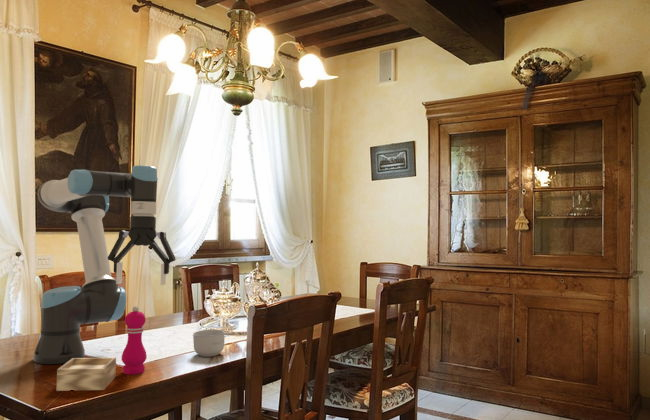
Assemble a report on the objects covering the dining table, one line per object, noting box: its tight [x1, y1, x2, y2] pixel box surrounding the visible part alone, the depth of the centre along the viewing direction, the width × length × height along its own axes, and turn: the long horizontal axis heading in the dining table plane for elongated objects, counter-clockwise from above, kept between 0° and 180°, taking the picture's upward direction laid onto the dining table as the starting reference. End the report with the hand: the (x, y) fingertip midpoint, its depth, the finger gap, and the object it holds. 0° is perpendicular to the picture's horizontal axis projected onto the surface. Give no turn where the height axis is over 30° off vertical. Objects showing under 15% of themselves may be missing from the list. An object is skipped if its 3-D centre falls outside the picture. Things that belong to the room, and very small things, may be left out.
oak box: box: [56, 357, 117, 392], centre depth 150 cm, size 12×12×6 cm
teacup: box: [192, 328, 225, 358], centre depth 187 cm, size 14×11×8 cm
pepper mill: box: [121, 305, 147, 376], centre depth 163 cm, size 7×7×20 cm
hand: (141, 284), depth 165 cm, fingers open, 13 cm apart
